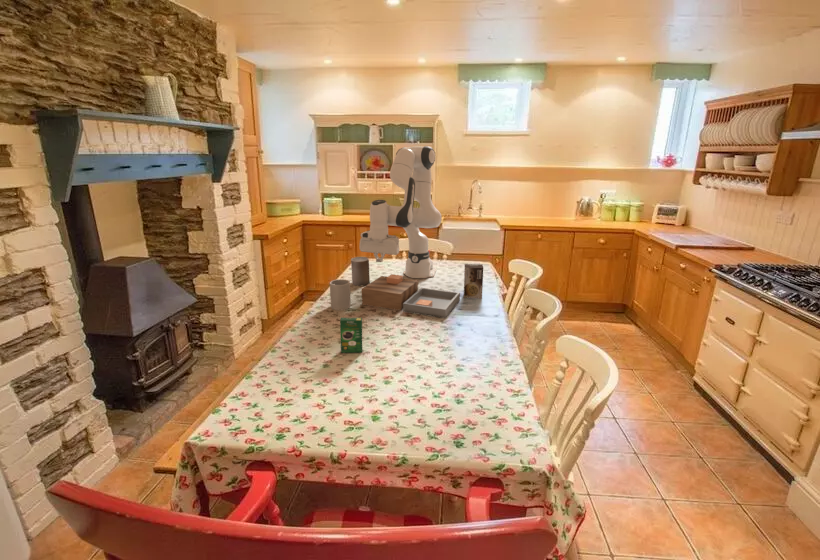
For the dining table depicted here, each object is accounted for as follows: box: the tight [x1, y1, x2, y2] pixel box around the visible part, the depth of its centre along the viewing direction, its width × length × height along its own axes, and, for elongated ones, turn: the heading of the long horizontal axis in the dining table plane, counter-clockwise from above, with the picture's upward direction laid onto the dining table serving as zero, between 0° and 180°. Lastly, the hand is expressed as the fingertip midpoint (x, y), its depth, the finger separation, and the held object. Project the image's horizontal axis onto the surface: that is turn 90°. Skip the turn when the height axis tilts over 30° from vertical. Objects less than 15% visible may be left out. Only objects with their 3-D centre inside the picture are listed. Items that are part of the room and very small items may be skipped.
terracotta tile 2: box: [387, 274, 404, 284], centre depth 209 cm, size 6×6×2 cm
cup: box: [329, 278, 352, 311], centre depth 197 cm, size 9×9×12 cm
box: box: [402, 287, 461, 319], centre depth 199 cm, size 24×20×4 cm
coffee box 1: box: [339, 317, 363, 354], centre depth 154 cm, size 8×3×13 cm, turn 93°
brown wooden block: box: [361, 275, 419, 311], centre depth 206 cm, size 22×20×8 cm
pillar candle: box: [350, 256, 371, 287], centre depth 230 cm, size 10×10×15 cm
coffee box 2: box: [463, 263, 484, 300], centre depth 210 cm, size 9×6×16 cm
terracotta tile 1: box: [416, 299, 432, 307], centre depth 195 cm, size 6×6×2 cm
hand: (379, 261), depth 209 cm, fingers closed
